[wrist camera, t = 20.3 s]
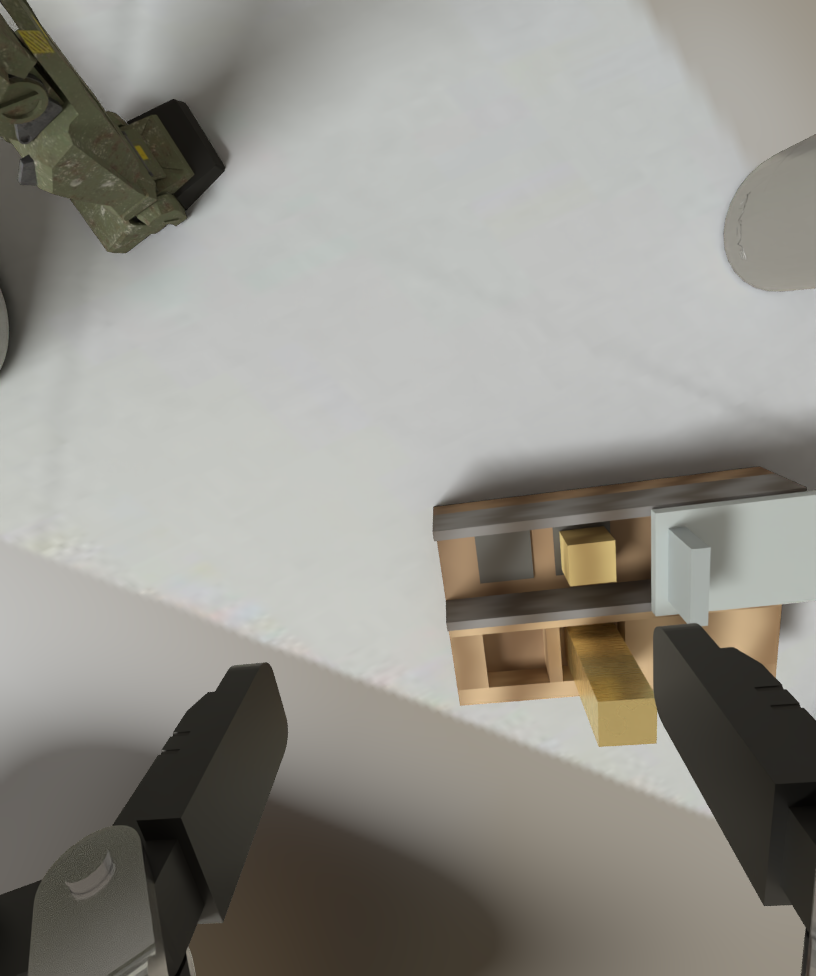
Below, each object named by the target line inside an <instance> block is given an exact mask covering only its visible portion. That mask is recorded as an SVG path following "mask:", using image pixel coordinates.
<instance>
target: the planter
mask: <svg viewBox="0 0 816 976" xmlns="http://www.w3.org/2000/svg"><path fill="white" fill-rule="evenodd" d="M8 341H9V323H8V314H7V309H6V304H5V300H4V297H3V294H2V291H1V288H0V369H1V367H2V365H3V363H4V360H5V356H6V353H7V348H8Z"/></svg>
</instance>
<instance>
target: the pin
mask: <svg viewBox="0 0 816 976" xmlns="http://www.w3.org/2000/svg"><path fill="white" fill-rule="evenodd" d="M564 639H565V658H566V661H567V663H568V666H569V669H570V671H571V674H572V677H573V679H574V682H575V685H576V687H577V690H578V693H579V695H580V698H581V701H582V703H583V706H584V709H585V711H586V714H587V717H588V719H589V722H590V725H591V727H592V730H593V733H594V735H595V738H596V741H597V743H598V746H599V747H603V746H620V745H637V744H655V743H656V740H657V707H656V704H655V699H654V692H653V690H652V688H651V686H650V684H649V683H648V681H647V679H646V678H645V676H644V674H643V672H642V671H641V669H640V667H639V666H638V664H637V662H636V660H635V659H634V657H633V655H632V653H631V652H630V650H629V648H628V647H627V645H626V643H625V641H624V640H623V638H622V636H621V635H620V633H619V631H618V629H617V628H616V626H615V624H614V623H613V622H609V623H598V624H588V625H578V626H567V627H564Z"/></svg>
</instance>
